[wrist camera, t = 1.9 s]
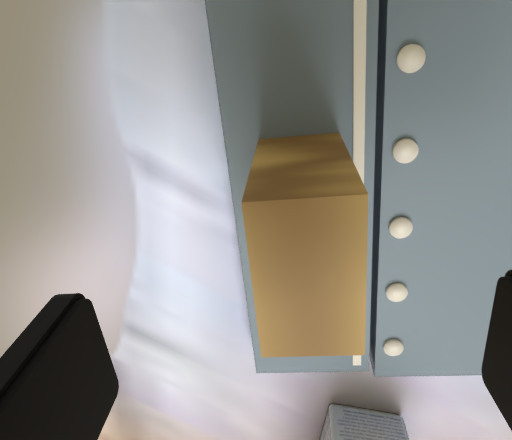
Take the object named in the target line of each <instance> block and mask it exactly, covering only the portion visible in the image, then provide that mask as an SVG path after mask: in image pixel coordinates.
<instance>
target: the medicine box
mask: <svg viewBox="0 0 512 440" xmlns="http://www.w3.org/2000/svg"><path fill="white" fill-rule="evenodd" d="M320 440H409V438H408V435H407V431H406V427H405V424H404V421H403V418H402V417H400V416H398V415H397V414H391V413H385V412H380V411H375V410H369V409H363V408H356V407H350V406H344V405H336V404H331V405H330V406H329V409H328V413H327V417H326V420H325V424H324V427H323V430H322V434H321V437H320Z"/></svg>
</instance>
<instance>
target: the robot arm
mask: <svg viewBox="0 0 512 440" xmlns="http://www.w3.org/2000/svg"><path fill="white" fill-rule="evenodd" d="M481 371H482V378H483V381H484V383H485V386H486V387H487V389H488V391H489V393H490V394H491V396H492V398H493V399H494V401H495V403H496V405H497V406H498V408H499V410H500V411H501V413H502V415H503V417H504V418H505V420H506V422H507V423H508V425H509V427H510V429H511V430H512V270H509V271H507V273H506V274H505V277H500V278H499V279H498V281H497V285H496V291H495V296H494V302H493V307H492V313H491V318H490V324H489V329H488V335H487V340H486V346H485V351H484V357H483V362H482V369H481ZM118 387H119V385H118V379H117V376H116V373H115V370H114V367H113V364H112V361H111V358H110V355H109V352H108V349H107V346H106V343H105V340H104V337H103V334H102V331H101V328H100V325H99V322H98V319H97V316H96V313H95V310H94V307H93V305H92V302H91V301H90V300H89V299H85V297H84V296H83V295H82V294H80V293H76V294H58V295H55V296H54V297H52V298H51V299H50V301H49V302H48V303H47V304H46V305H45V306H44V308H43V309H42V310H41V311H40V312H39V313H38V315H37V316H36V317H35V318H34V319H33V320H32V322H31V323H30V324H29V325H28V326H27V328H26V329H25V330H24V331H23V332H22V333H21V334H20V336H19V337H18V338H17V339H16V340H15V342H14V343H13V344H12V345H11V346H10V347H9V348H8V350H7V351H6V352H5V353H4V354H3V356H2V357H1V358H0V440H97V439H98V437H99V435H100V433H101V430H102V428H103V426H104V424H105V421H106V419H107V417H108V415H109V412H110V410H111V408H112V406H113V403H114V401H115V399H116V397H117V394H118Z"/></svg>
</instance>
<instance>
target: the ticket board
mask: <svg viewBox="0 0 512 440" xmlns="http://www.w3.org/2000/svg"><path fill="white" fill-rule="evenodd" d="M509 270H512V0H379V17H378V54H377V91H376V129H375V166H374V203H373V241H372V278H371V315H370V352H369V356H370V360H371V364H372V368H373V372H374V376H375V377H394V376H459V375H482V371H481V369H482V362H483V357H484V351H485V346H486V340H487V335H488V329H489V324H490V318H491V313H492V307H493V302H494V296H495V291H496V285H497V281H498V279H499V278H500V277H505V274H506V273H507V271H509Z"/></svg>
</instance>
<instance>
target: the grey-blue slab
mask: <svg viewBox="0 0 512 440" xmlns="http://www.w3.org/2000/svg"><path fill="white" fill-rule="evenodd" d="M205 5H206V12H207V19H208V26H209V33H210V41H211V48H212V55H213V62H214V70H215V77H216V84H217V91H218V98H219V106H220V113H221V120H222V127H223V135H224V142H225V149H226V156H227V163H228V171H229V178H230V185H231V192H232V200H233V207H234V214H235V221H236V228H237V236H238V243H239V250H240V257H241V264H242V272H243V279H244V286H245V293H246V301H247V308H248V315H249V322H250V329H251V337H252V344H253V351H254V358H255V366H256V373H288V372H347V371H369V352H370V315H371V278H372V241H373V203H374V166H375V129H376V91H377V54H378V17H379V0H205Z"/></svg>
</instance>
